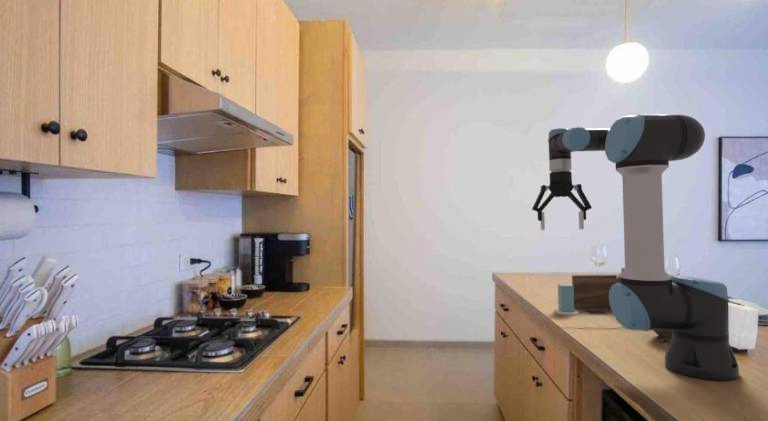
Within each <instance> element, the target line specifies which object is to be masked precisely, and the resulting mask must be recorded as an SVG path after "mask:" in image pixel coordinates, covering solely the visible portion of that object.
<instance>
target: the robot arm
mask: <svg viewBox="0 0 768 421" xmlns="http://www.w3.org/2000/svg"><path fill="white" fill-rule="evenodd" d="M705 138H706V132H705V129H704V127H703V125H702V124H701V122H699V121H698V120H697V119H696V118H694V117H692V116H689V115H685V114H635V115H626V116H622V117H619V118H618V119H617V120H615V121H614V122H613V123H612V125H611V126H610V128H584V127H582V126H576V127H571V128H566V127H562V128H561V127H559V128H555V129H553V128H552V129H551V130H550V131H549V132H548V139H547V142H548V161H549V162H548V163H549V166H548V167H549V171H550V173H549V185H545V184H543V185H541V186H540V190H539V191H540V192H539V193H538V195H537V197H536V200H535V202H534V204H533V206H532V208H531V209H532V210H533V211H534V212H536V213H537V221H539V222H540V230H541V231H545V230H546V227H545V225H546V224H545V222H546V221H545V211H543V210H545V208H546V207H547V206H548V205H549V203H550V202H551V201H552V200H553V199H554V198H555V197H556V198H561V197H562V198H566V197H568V199H570V200H571V202H572V203H574V204H575V206H576V207H577V208H578V209H579V210H580V211H578V226H579V227H578V229H579V230H585V222H584V221H586V220H587V211H588V210H591V209H592V206H591V203H590V201H589V200H588V198H587V196H586V195H585V193H584V191H583V188H582V184H581V183H578V184H573V178H572V177H573V174H572V172H571V171H572V169H573V168H572V153H573V152H600V151H601V152H604V153H605V156H606V158H607V159H608V161H610V162H611V163H614V164H615V171H616V172H617V173H618V174H620V175H621V176H622V177H621V178H622V205H623V206H622V207H623V241H624V242H623V244H624V245H623V246H624V249H623V250H624V251H623V252H624V268H625V269H624V271H622V270H621V272H620V273H619V274H618V275H619V283H616V284H614V285H612V286H611V288H610V289H611V290H610V291H609V302H610V306H611V309H610V311H611V312H612V314H613V316H614V317H615V320H616V321H617V322H618V323H619V324H620V325H621V326H622V327H623V328H625V329H627V330H630V331H642V332H648V331H653V330H671V329H672V338H671V341H670V342H669V344H668V346H667V349H666V352H665V354H664V366H666V368H667V369H669V370H671V371H673V372H676V373H677V374H681V375H684V376H686V377H687V376H688V377H690V378H691V377H692V378H695V379H696V378H697V379H703V380H707V381H732V380H733V381H734V380H735V379H738V378H739V377H740V368H739V365H738V361H737V360H736V357H735V354H734V352H733V349H732V346H731V345H730V329H729V327H730V326H729V324H730V323H729V302H730V299H729V297H728V295H729V294H728V288H727V285H725V284H724V283H722V282H720V281H716V280H712V279H711V280H710V279H704V278H700V277H691V276H683V275H670V274H669V273H668V272H666V270H665V245H664V244H665V238H664V214H663V213H664V207H663V206H664V205H663V173H665V171H666V170H667V169H668V168H669V167H670V163H669V162H675V161H682V160H685V159H688V158H690V157H692V156H694V155H695V154H697V153H698V152H699V151H700V149H701V148H702V146H703V145H704V142H705ZM548 190H549V191H550V194H549V195H548V196H547V198H546V199H545V200H544V201H543V202H542V200H543V198H544V196H545V193H546V192H547V191H548ZM573 190H575V191H576V193H577V195H578V196H579V198H580V200H581V201H579V199H578V198H577V196H575V194H574V193H573V192H572V191H573ZM541 203H542V204H541ZM540 204H541V205H540ZM671 276H672V277H671Z"/></svg>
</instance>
